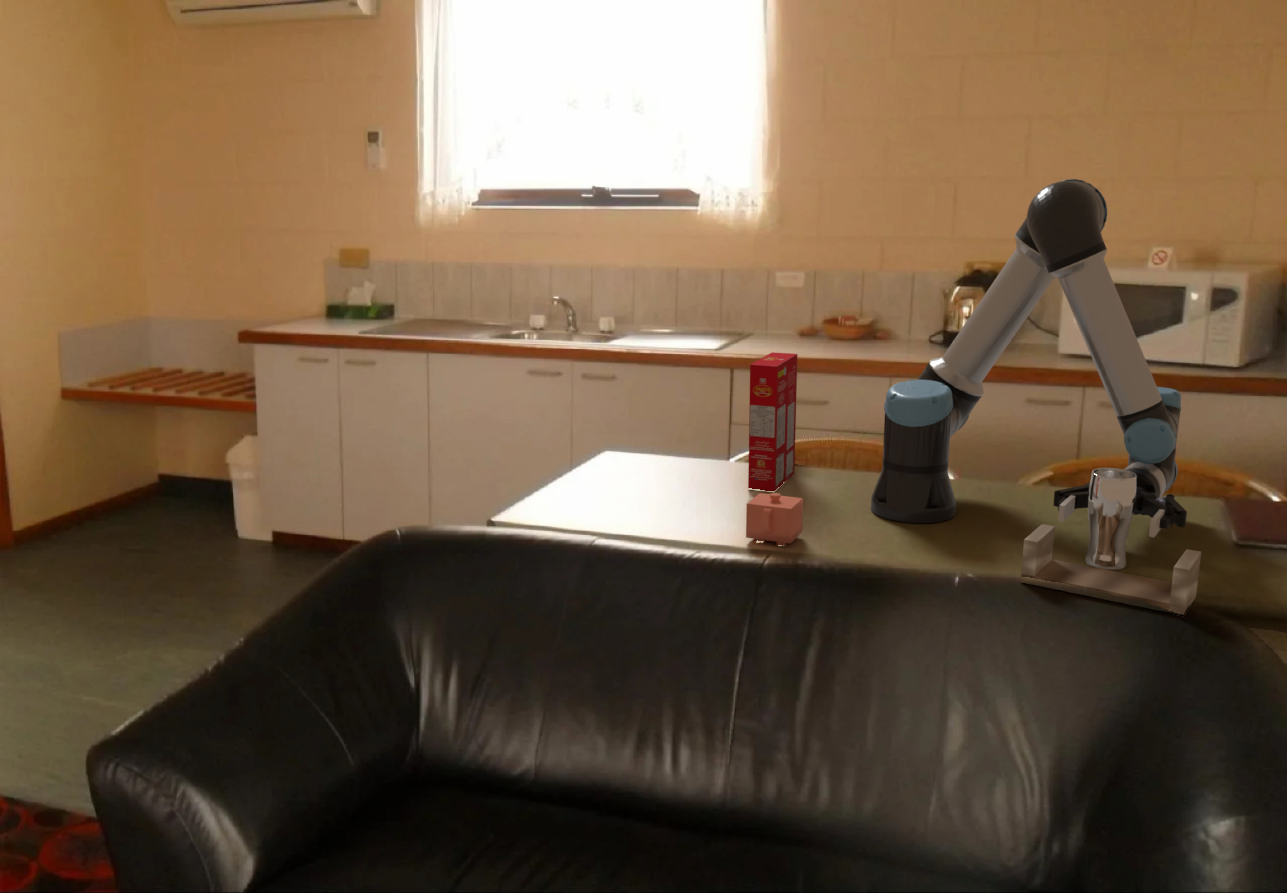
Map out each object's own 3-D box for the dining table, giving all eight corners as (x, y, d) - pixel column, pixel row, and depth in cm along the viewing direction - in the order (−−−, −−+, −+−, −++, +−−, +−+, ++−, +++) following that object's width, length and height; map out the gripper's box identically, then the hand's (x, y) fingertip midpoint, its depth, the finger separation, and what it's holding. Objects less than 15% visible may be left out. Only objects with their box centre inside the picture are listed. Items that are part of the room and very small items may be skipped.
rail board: (1020, 583, 173) (1024, 539, 172) (1038, 566, 181) (1041, 524, 179) (1183, 616, 160) (1189, 569, 159) (1196, 596, 168) (1201, 551, 166)
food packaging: (769, 471, 236) (772, 352, 230) (794, 473, 234) (797, 353, 228) (748, 490, 223) (750, 364, 216) (774, 493, 221) (776, 366, 214)
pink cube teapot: (807, 532, 198) (808, 486, 196) (786, 553, 187) (787, 505, 185) (764, 526, 201) (765, 481, 199) (741, 547, 191) (742, 500, 189)
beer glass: (1105, 573, 177) (1114, 481, 173) (1072, 559, 183) (1080, 470, 179) (1138, 567, 180) (1148, 476, 176) (1105, 553, 186) (1113, 465, 182)
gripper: (1214, 522, 188) (1190, 558, 171) (1060, 497, 202) (1023, 529, 185) (1220, 478, 186) (1195, 511, 169) (1064, 457, 200) (1027, 485, 183)
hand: (1105, 521), depth 177 cm, fingers open, 13 cm apart
